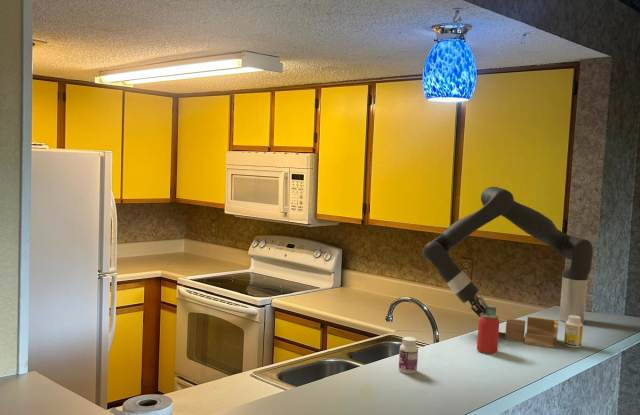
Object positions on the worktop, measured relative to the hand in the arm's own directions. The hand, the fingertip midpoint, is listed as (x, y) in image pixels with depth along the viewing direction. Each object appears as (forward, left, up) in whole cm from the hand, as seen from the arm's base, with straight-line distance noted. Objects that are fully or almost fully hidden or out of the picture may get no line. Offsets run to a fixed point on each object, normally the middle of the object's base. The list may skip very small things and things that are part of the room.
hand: (494, 324), depth 225 cm
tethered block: (0, +3, -4) cm, 5 cm away
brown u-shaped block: (0, +16, -4) cm, 16 cm away
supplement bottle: (0, +26, -4) cm, 26 cm away
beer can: (+21, 0, -4) cm, 21 cm away
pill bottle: (+52, -19, -4) cm, 56 cm away
